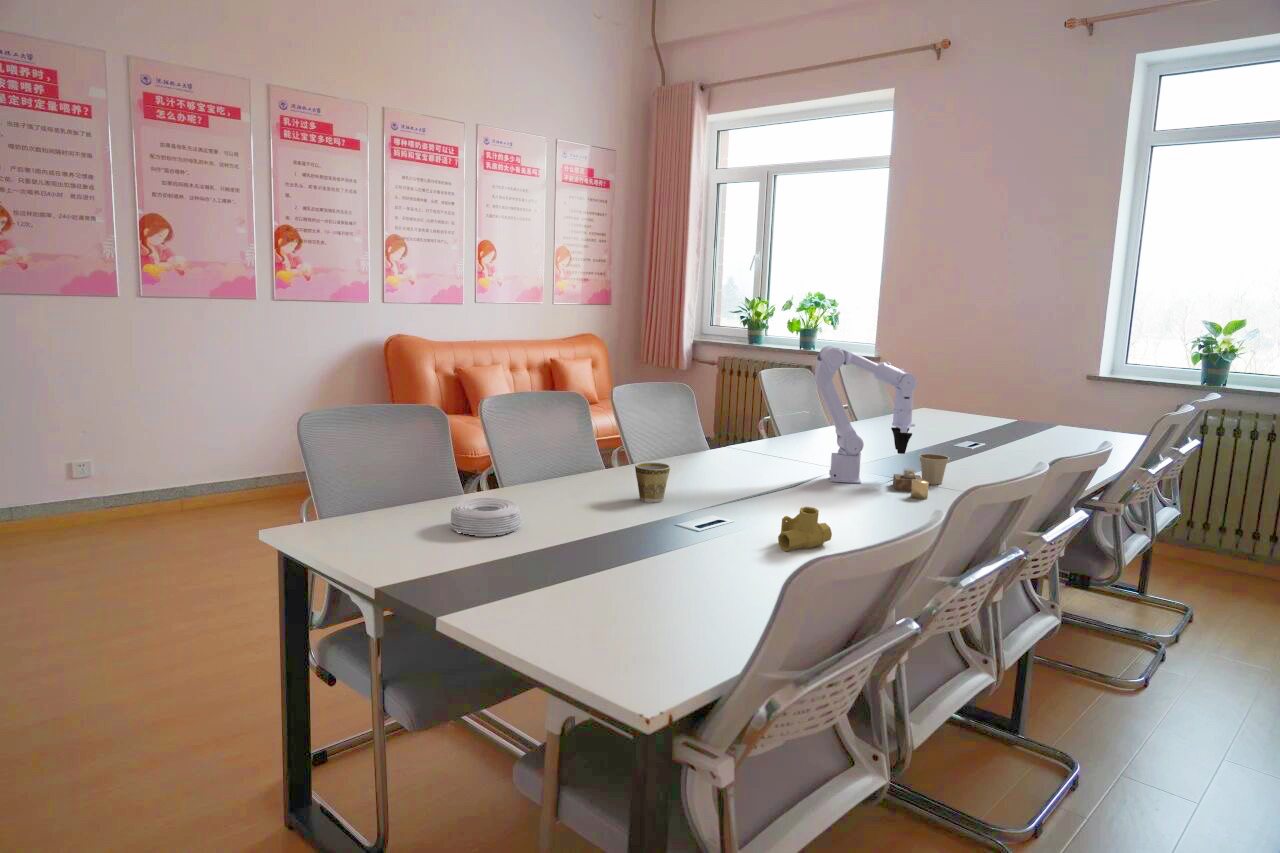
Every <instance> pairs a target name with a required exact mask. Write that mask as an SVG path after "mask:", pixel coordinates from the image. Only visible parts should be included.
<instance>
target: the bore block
mask: <svg viewBox="0 0 1280 853" xmlns="http://www.w3.org/2000/svg"><path fill="white" fill-rule="evenodd" d="M892 477H893V478H892V486H893V488H894V490H895V491H901V492H911V486H912V480H922V476H921V475H916V474H915V475H914V479H904V478H903V473H901V474H900V473H893V476H892Z"/></svg>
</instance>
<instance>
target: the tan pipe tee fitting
mask: <svg viewBox="0 0 1280 853" xmlns="http://www.w3.org/2000/svg"><path fill="white" fill-rule="evenodd" d="M819 511H820V510H819V509H817V508H815V507H812V506H811V507H810V506H802V507H800V509H799V513H798V514H796V516H795V517H793V518H792V517H790V516H788V515H785V516H784V517H782V518H781V526H780V527H781V529H780V533H779V534H778V537H777V539H778V545H779V547H780V548H781V550H782V551H784V552H789V551H793V550H797V549H800V548H801V549H803V550H805V549H809V548H813V547H822V546H823V545H824V544H825V543H826V542H829V541H831V539H832V535H833V533H832V529H831V527H830V526H829V525H828V524H827V523H826V522H821V523H819V522H818V520H819Z"/></svg>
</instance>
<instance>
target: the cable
mask: <svg viewBox="0 0 1280 853" xmlns="http://www.w3.org/2000/svg"><path fill="white" fill-rule="evenodd" d="M522 520H523V519H522V517H521V511H520V508H519V506H518V504H516V503H514V502H513V501H511V500H508V499H505V498H497V497H477V498H476V497H475V498H471V499H466V500H464V501H461V502H459V503H457V504H455V505H454V506H453V508H452V509H451V510H450V526H451V529H452V530H453V531H455V532H456V531H458V532H461V533H463V534H462V535H464V534H469V535H475V536H474V537H495V536H496V535H498V536H502V535H506V533H507V534H509V533H512V532H514V531H516V530H518V528H519V527H520V526H521V524H522ZM469 535H468V536H469ZM496 537H497V536H496Z"/></svg>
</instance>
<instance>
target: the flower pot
mask: <svg viewBox="0 0 1280 853" xmlns="http://www.w3.org/2000/svg"><path fill="white" fill-rule="evenodd" d="M918 458H919V461H920V465H921V466H920V470H921V478H922V480H925V481H928V482H929V485H935V486H936V485H942V484H943V480H944V476H945V472H946V467H947V464H948V462H949V460H950V457H949V456H947V455H943V454H936V453H922V454H921V453H920V454H919V455H918Z"/></svg>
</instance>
